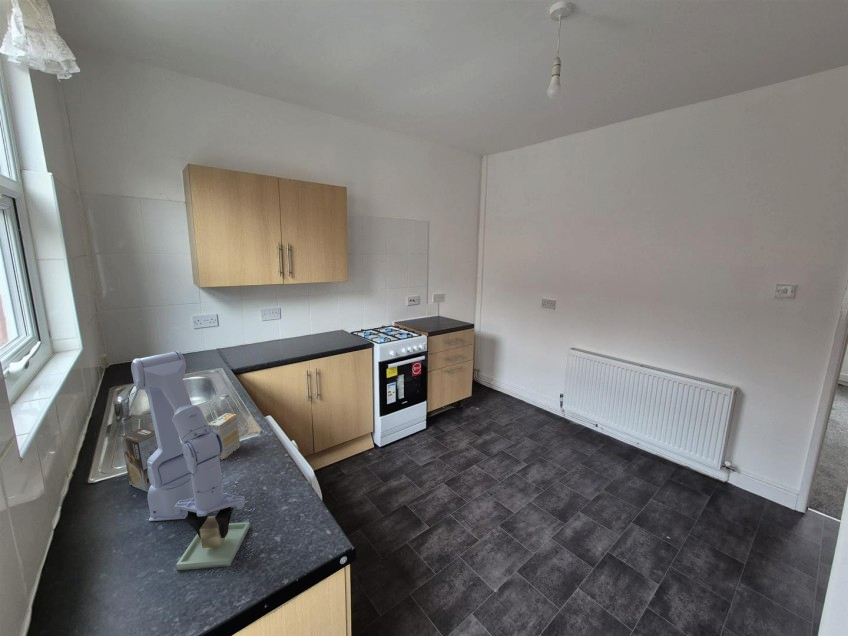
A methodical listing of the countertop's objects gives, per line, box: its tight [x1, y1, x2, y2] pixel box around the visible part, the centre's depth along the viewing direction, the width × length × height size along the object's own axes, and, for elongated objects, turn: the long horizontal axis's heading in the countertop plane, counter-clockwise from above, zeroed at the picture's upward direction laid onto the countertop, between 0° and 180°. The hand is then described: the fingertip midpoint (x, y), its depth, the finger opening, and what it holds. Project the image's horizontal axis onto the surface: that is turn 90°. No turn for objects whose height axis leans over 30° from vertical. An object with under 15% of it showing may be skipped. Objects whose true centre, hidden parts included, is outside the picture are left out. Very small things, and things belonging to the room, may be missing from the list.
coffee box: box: [120, 426, 158, 493], centre depth 104 cm, size 9×6×16 cm
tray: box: [175, 521, 251, 571], centre depth 82 cm, size 11×11×2 cm
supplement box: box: [208, 412, 241, 459], centre depth 120 cm, size 8×5×13 cm, turn 169°
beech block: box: [200, 515, 228, 548], centre depth 81 cm, size 4×4×5 cm
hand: (214, 535), depth 82 cm, fingers closed on beech block, 4 cm apart
